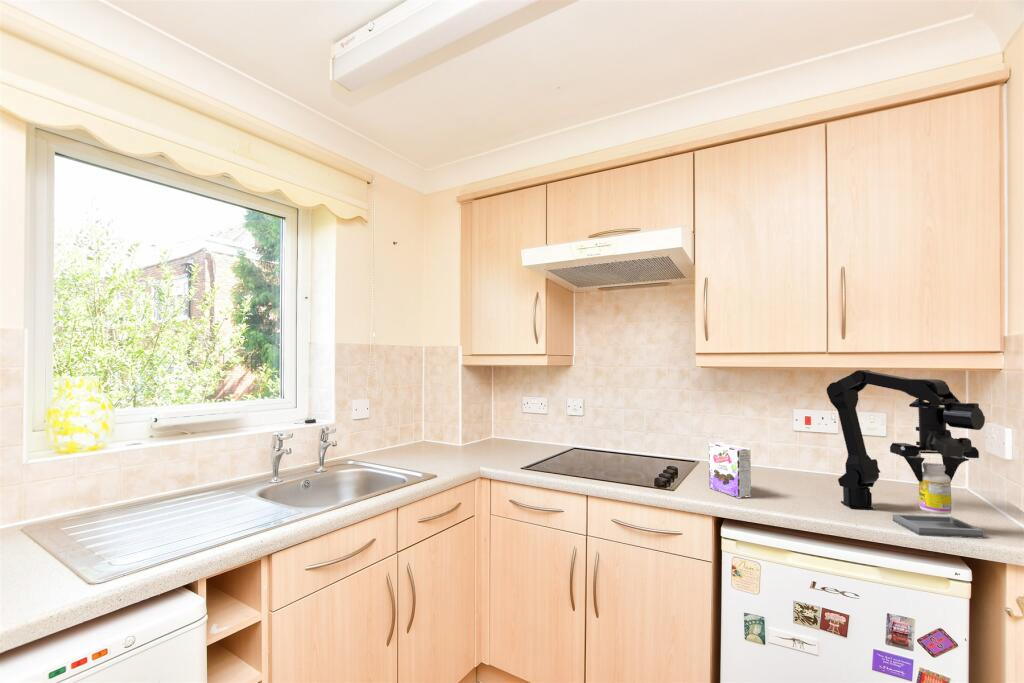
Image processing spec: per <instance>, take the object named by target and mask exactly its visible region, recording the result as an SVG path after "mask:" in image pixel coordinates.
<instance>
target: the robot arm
mask: <svg viewBox="0 0 1024 683" xmlns="http://www.w3.org/2000/svg"><path fill="white" fill-rule="evenodd" d="M867 385H870V386H871V385H872V386H877V387H881V388H884V389H890V390H895V391H900V392H903V393H905V394H906V395H908V396H910V397H913V398H915V400H914V401H912V402H911V403H909V405H908V406H909V407H910V408H918V412H917V413H918V426H915V431H918V436H919V437H918V438H919V440H918V441H915V443H916V444H911V443H906V442H892V443H891V444H890V446H889V453H892V454H894V455H895V454H896V455H897V456H900V457H903V458H904V460H905V461H906V463H907V464H908V465H909V467H910V469H911V470H912V472H913V474H914V476H915V478H916V479H917V481H918V482H919V481H920V482H922V478H923V474H922V472H923V463H924V461H925V459H926V458H924V457H923V456H921V454H931V455H932V454H937V455H938V454H939V455H940V456H941V460H942V464H943V465H945V471H944V473H945V474H946V475H948V476H949V477H950V479H951V482H952V480H953V478H954V476H955V474H956V472H957V470H958V468H959V466H960V465H961V464H963V463H965V462H969V461H970V459H980V451H979V450H978V448H977V447H976V446H973V445H972V440H971V439H970V438H968V437H959V438H954V437H952V431H951V430H950V429H947V425H948V426H949V427H951V428H957V429H965V430H967V429H968V430H973V431H974V430H975V431H980V430H981V429H983V427H984V425H985V422H986V417H985V415H984V412H983V410H982V409H981V407H980V404H979V403H978V402H977V403H976V402H967V403H966V402H961V401H960V400H959V399H958V398H957V396H955V394H953V392H952V391H951V390H950V387H949V385H948V383H947V382H946V381H944V379H943V380H942V379H940V378H939V379H938V378H937V379H936V378H935V379H934V378H908V377H903V376H897V375H893V374H887V373H882V372H877V371H876V372H875V371H872V370H869V369H857V370H855V371H854V372H852V373H850V374H849V375H847V376H845V377H842V378H840V379H838V380H837V381H834V382H830V383H829V384H828V386H827V387H826V394H827V396H828V399H829V401H830V403H831V404H832V405H833V407H834V408H835V409H836V410H837V413H838V417H839V422H840V426H841V430H842V434H843V438H844V442H845V447H846V452H847V458H846V461H845V467H844V468H845V473H844V474H843V475H841V476H840V477H838V479H837V481H838V485H839V486H840V487H842V493H843V494H842V497H843V500H841V501H840V503H841V504H843V505H844V506H846V507H848V508H850V509H853V510H855V509H857V510H874V507H873V499H872V498H873V497H872V496H873V494H872V492H871V488H874V485H875V483H876V482H877V480H879V477H880V473H881V470H880V469H879V466H878V465H879V463H878V461H877V460H878V459H876V458H873V459H872V458H871V457H870V456H869V455H868V453H867V449H866V445H865V441H864V436H863V434H862V433H863V432H862V429H861V425H860V421H859V417H858V413H857V406H858V402H859V392H861V391H863V390H864V389H865V388H866V387H867Z"/></svg>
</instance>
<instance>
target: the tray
mask: <svg viewBox="0 0 1024 683" xmlns="http://www.w3.org/2000/svg"><path fill="white" fill-rule="evenodd" d="M893 521H894V523H895V522H896V523H895V524H897V523H898V524H897V525H899V526H901V527H903V528H904V529H907V530H909V531H910V532H912V533H915V534H916V535H918V536H925V537H927V536H928V537H929V536H930V537H947V538H948V537H951V536H962V537H961V538H968V537H983V538H982V539H984V529H982V528H978V527H977V526H974V525H971V524H969V523H967V522H965V521H963V520H961V519H958V518H956V517H953V516H950V515H949V516H947V515H945V516H944V515H923V514H922V515H921V514H920V515H919V514H918V515H917V514H900V513H899V514H898V513H895V514H894V513H892V522H893ZM951 538H952V537H951Z"/></svg>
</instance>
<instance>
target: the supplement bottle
mask: <svg viewBox="0 0 1024 683" xmlns="http://www.w3.org/2000/svg"><path fill="white" fill-rule="evenodd" d="M922 470H923V471H922V474H923V478H922V482H920V481H918V499H919V500H918V501H919V502H918V503H919V508H920V509H921V510H922V511H923V512H926V513H931V514H935V515H950V514H951V513H952V512H953V511H952V484H951V482H952V481H951V479H950V477H949V476H948V475H946V474H945V473H944V471H945V465H943V463H938V462H937V463H936V462H922Z"/></svg>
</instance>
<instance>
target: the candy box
mask: <svg viewBox="0 0 1024 683" xmlns="http://www.w3.org/2000/svg"><path fill="white" fill-rule="evenodd" d="M751 465H752V464H751V448H747V447H743V446H738V445H733V444H729V443H724V442H721V441H719V442H710V443H708V466H709V467H708V468H709V470H708V474H709V477H708V478H709V480H708V481H709V483H708V484H709V488H710V487H711V488H714V489H717V490H720V491H723V492H725V493H728V494H731V495H734V496H736V497H745V496H751V497H752V492H751V491H752V484H751V483H752V482H751V481H752V480H751V479H752V476H751V474H752V473H751V472H752V471H751V470H752V469H751V468H752V467H751ZM711 488H710V489H711ZM725 493H724V494H725ZM728 494H727V495H728ZM731 495H730V496H731ZM736 497H735V498H736Z"/></svg>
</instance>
